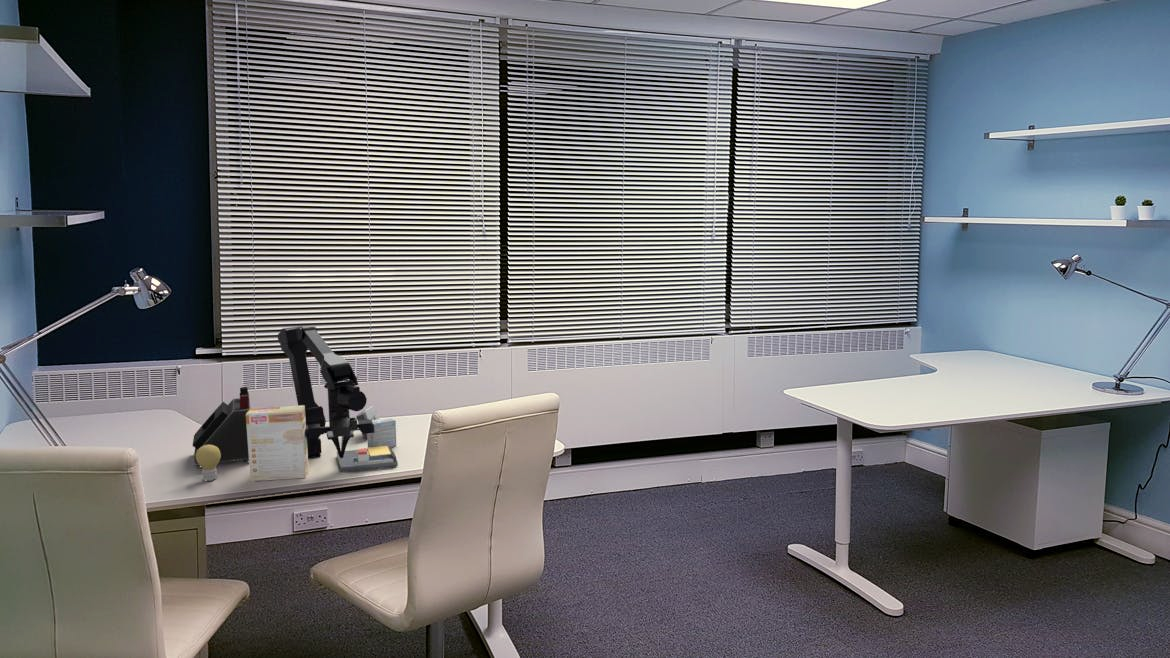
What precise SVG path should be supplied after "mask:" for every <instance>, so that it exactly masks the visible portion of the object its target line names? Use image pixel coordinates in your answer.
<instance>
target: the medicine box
mask: <svg viewBox="0 0 1170 658" xmlns="http://www.w3.org/2000/svg"><path fill="white" fill-rule="evenodd" d="M372 422H373V424H374V433H368V434H367V438H366V439H367V440H366V441H367V442H366V443H367V448H368V447H378V446H388V447H391V448H393V447H397V425H396V423H397V421H396V419H394V418H391V417H383V418H379V419H378V420H373V421H372Z"/></svg>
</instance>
